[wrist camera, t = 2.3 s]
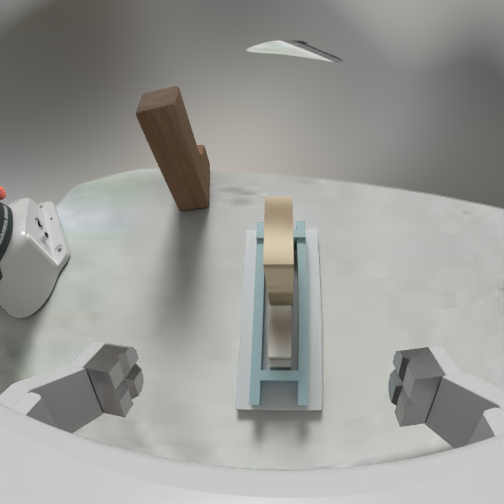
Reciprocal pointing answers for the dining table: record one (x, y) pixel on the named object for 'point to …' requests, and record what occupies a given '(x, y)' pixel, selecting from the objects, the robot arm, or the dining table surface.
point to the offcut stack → (280, 337)
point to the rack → (302, 331)
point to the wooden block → (175, 147)
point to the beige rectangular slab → (279, 250)
